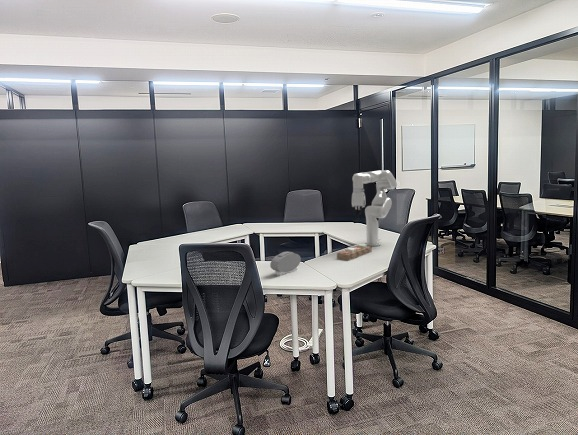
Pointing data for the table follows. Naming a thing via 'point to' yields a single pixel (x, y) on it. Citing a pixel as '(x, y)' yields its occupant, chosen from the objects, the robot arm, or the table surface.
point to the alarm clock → (285, 263)
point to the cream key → (351, 249)
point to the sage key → (362, 245)
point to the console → (353, 253)
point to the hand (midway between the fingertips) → (358, 214)
